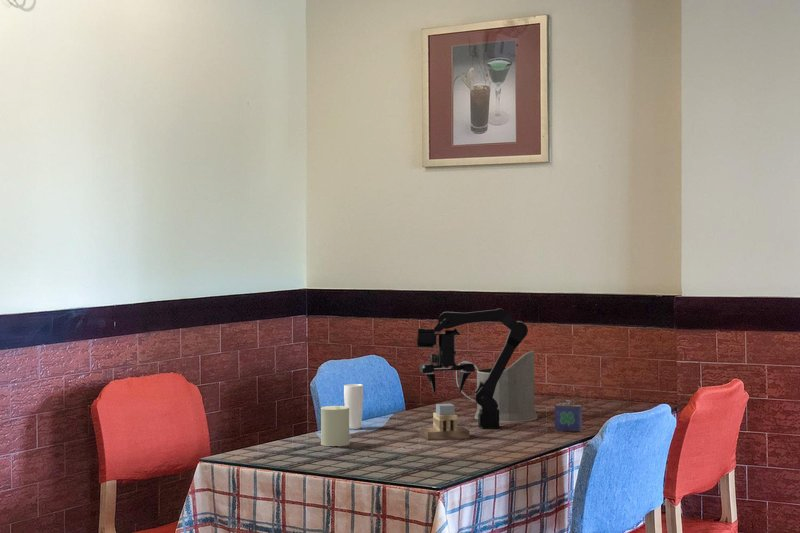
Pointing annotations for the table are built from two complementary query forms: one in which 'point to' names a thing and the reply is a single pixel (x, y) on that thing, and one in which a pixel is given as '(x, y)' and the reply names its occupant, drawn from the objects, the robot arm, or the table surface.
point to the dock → (445, 433)
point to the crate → (445, 409)
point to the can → (335, 426)
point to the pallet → (445, 422)
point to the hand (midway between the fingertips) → (447, 392)
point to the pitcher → (512, 390)
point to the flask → (568, 417)
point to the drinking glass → (354, 404)
